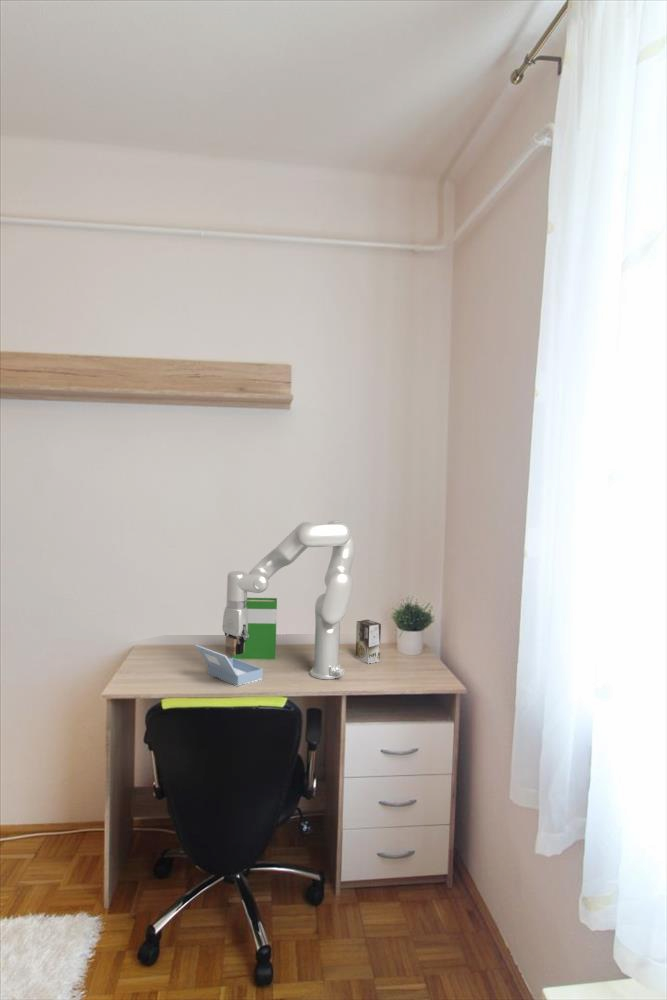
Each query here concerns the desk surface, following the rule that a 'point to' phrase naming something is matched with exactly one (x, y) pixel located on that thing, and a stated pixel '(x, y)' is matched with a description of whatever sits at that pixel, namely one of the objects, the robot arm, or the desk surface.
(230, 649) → the walnut block
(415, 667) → the desk surface
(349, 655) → the desk surface
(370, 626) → the coffee box
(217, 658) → the lid
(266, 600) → the hardback book
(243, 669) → the mailer box
